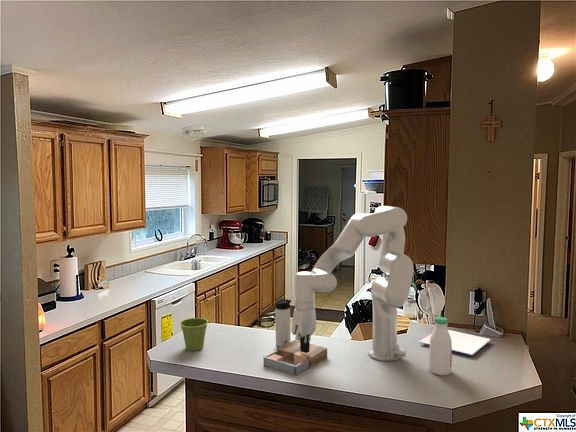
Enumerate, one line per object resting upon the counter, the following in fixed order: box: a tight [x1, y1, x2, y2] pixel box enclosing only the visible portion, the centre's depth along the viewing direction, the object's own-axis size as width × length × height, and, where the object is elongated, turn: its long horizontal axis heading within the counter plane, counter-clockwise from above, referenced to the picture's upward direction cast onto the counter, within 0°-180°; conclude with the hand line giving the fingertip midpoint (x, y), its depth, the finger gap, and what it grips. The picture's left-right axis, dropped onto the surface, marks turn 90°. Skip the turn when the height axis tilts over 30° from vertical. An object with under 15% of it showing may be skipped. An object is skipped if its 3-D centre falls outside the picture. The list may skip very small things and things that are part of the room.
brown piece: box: [276, 339, 328, 369], centre depth 176 cm, size 16×12×4 cm
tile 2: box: [294, 352, 307, 366], centre depth 168 cm, size 4×4×2 cm
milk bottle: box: [428, 316, 453, 376], centre depth 163 cm, size 8×8×20 cm
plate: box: [418, 329, 491, 356], centre depth 190 cm, size 22×22×2 cm
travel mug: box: [274, 299, 292, 348], centre depth 189 cm, size 6×7×20 cm
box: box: [263, 349, 310, 377], centre depth 168 cm, size 15×9×4 cm, turn 53°
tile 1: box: [268, 354, 283, 362], centre depth 170 cm, size 4×4×2 cm
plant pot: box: [179, 317, 209, 351], centre depth 188 cm, size 12×12×11 cm
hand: (304, 351), depth 170 cm, fingers closed
